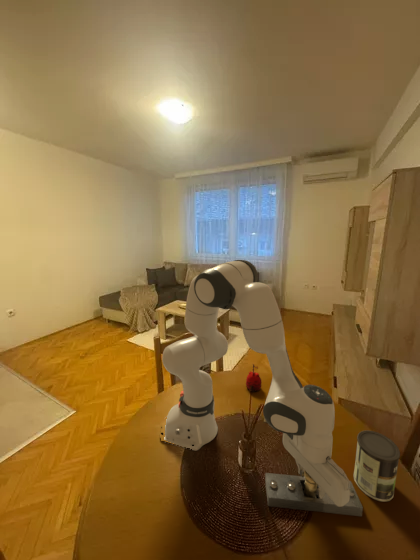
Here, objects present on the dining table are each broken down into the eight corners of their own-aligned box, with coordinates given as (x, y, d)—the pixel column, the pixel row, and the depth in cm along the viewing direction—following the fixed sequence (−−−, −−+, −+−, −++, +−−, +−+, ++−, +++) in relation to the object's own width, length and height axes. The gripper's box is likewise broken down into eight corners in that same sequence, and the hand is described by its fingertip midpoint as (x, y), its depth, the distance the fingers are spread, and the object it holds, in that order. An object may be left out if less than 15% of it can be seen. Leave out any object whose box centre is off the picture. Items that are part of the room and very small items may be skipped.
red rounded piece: (262, 386, 119) (262, 358, 116) (260, 394, 113) (260, 366, 110) (247, 383, 122) (247, 356, 119) (244, 391, 116) (244, 363, 113)
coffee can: (391, 477, 74) (397, 438, 71) (395, 509, 65) (402, 467, 63) (353, 461, 79) (357, 425, 77) (352, 489, 71) (357, 449, 68)
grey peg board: (268, 505, 67) (268, 495, 66) (265, 480, 74) (265, 471, 73) (361, 516, 64) (363, 505, 63) (349, 489, 71) (351, 479, 70)
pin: (301, 500, 68) (303, 477, 67) (303, 487, 72) (305, 465, 70) (316, 508, 66) (318, 485, 65) (318, 494, 70) (320, 472, 68)
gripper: (358, 471, 58) (353, 516, 60) (295, 415, 76) (293, 451, 78) (341, 483, 55) (336, 530, 58) (279, 422, 73) (278, 459, 76)
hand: (310, 484), depth 68 cm, fingers open, 5 cm apart
